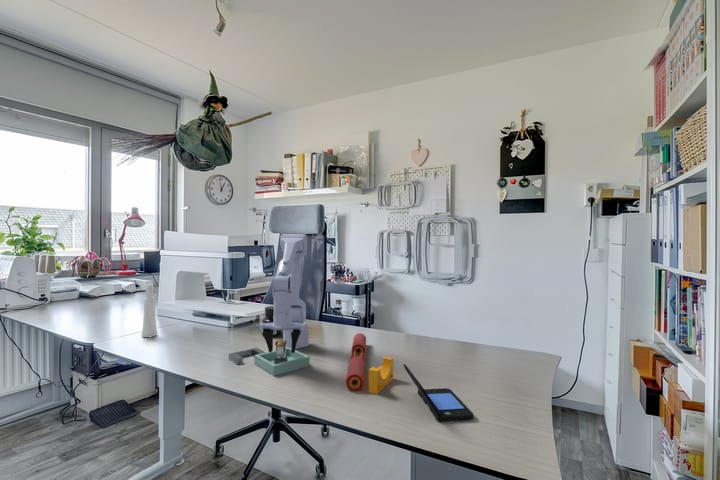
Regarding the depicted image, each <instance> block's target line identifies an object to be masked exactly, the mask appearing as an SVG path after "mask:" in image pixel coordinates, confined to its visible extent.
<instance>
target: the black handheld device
mask: <svg viewBox="0 0 720 480" xmlns="http://www.w3.org/2000/svg"><path fill="white" fill-rule="evenodd" d="M403 368H404V369H405V371H406V372H407V374H408V376H409V377H410V379H411V381H412V382H413V383H414V385H415V386H416V388H417V394H418V396H419V397H420V399H421V400H422V401H423V402H424V404H425V405H426V406H427V407H428V408H429V410H430V411H429V412H430V413H431V414H432V416H433V417H434V419H435V420H436V421H437V423H442V422H457V421H459V422H460V421H471V420H473V419H474V412H472V411H471V409H469V407H468V406H467V405H466V404H465V403H464V402H463V401H462V400H461V399H460V398H459V397H458V396H457V395H456V393H454V391H453V390H451V389H450V388H427V389H424V387H423V386H422V384H421V383H420V381H419V380H418V379H417V378H416V377H415V375H414V374H413V373H412V371H411V370H410V368H409V367H408V366H407V364H405V363H403Z"/></svg>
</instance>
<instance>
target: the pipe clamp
mask: <svg viewBox="0 0 720 480" xmlns="http://www.w3.org/2000/svg"><path fill="white" fill-rule="evenodd" d="M393 380H394V357H390V356H384V357H383V358H382V365H379V367H373V366H372V367H370V368H369V369H368V393H370V394H375V395H378V394H379V393H380V392H382V390H384V388H386V386H387V385H389V383H391V381H393Z"/></svg>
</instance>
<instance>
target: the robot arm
mask: <svg viewBox="0 0 720 480" xmlns="http://www.w3.org/2000/svg"><path fill="white" fill-rule="evenodd" d="M279 240H280V241H279V243H280V249H281V251H282V254H283V257H282V259H281V260H280V261H279V262H278V266H277V271H276V273H275V276H273V277H271V292H272V296H271V297H272V298H273V306H274V323H262V322H261V323H260V324H259V331H261V335H262V337H263V338H264V340H265V342H266V345H267V350H268V352H272V351H274V343H273V340H274V337H273V332H274V330H283V334H282V337H283V338H282V340H284V341H287V345H286V348H288V347H290V348H292V349H291V351H292V353H294V352H295V350H297V349H301V348H305V347H308V346H311V345H310V343H309V338H310V337H309V336H310V335H309V333H310V332H309V331H310V330H309V326H308V323H307V322H306V320H307V319H306V318H307V309H306V308H307V307H306V306H307V304H306V302H305V301H304V300H303V299H301V298H300V283H301V265H302V264H301V262H302V258H303V257H304V256H306V255H307V252H308V237H307V234H306V233H303V234H300V233H299V234H297V233H295V234H294V233H291V234H290V233H282V234H281V235H280V238H279ZM262 330H263V332H262Z"/></svg>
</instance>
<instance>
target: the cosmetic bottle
mask: <svg viewBox="0 0 720 480" xmlns="http://www.w3.org/2000/svg"><path fill="white" fill-rule="evenodd" d="M154 289H155V288H154V286H153V283H152V284H151V283H149V284H146V287H145V298H144V303H143V305H144V307H143V318H142V319H143V320H142V321H143V323H142V329H141V335H140V336H142V337H141V338H143V337H149V338H151V337H150V336H154V337H156V336H155V335H157V334H158V329H157V317H156V299H155V296H154V291H155V290H154ZM157 336H158V335H157Z"/></svg>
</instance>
